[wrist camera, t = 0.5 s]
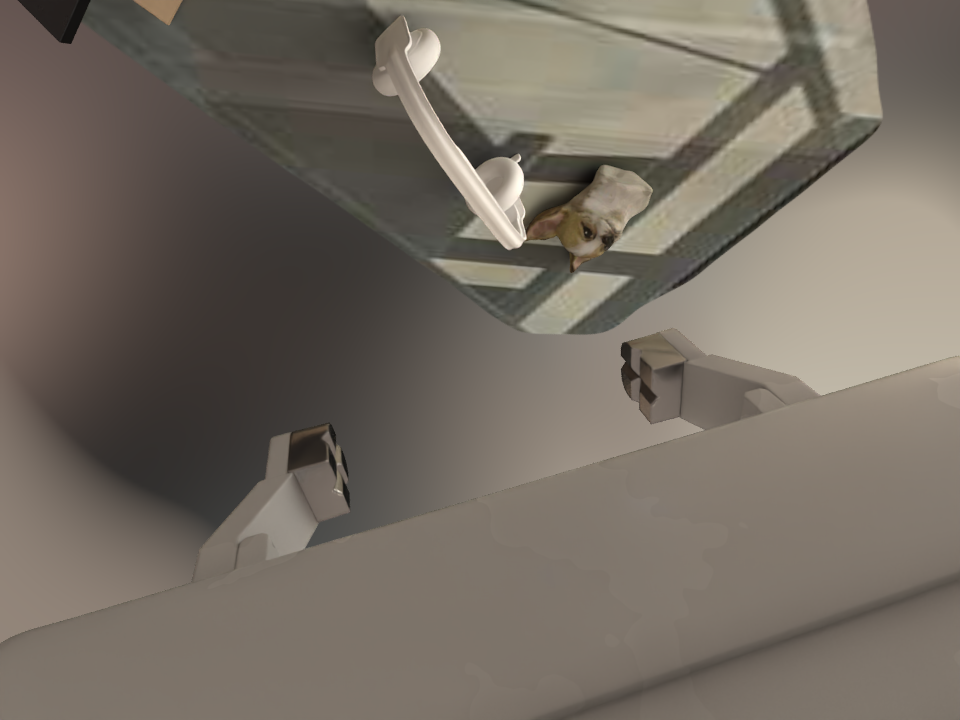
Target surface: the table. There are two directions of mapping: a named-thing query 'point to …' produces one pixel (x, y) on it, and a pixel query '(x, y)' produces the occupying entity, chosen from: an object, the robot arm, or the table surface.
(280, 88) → the table surface
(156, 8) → the laptop
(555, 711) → the robot arm
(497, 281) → the table surface
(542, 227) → the ceramic sculpture
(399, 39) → the headset
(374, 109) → the table surface
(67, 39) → the laptop screen
